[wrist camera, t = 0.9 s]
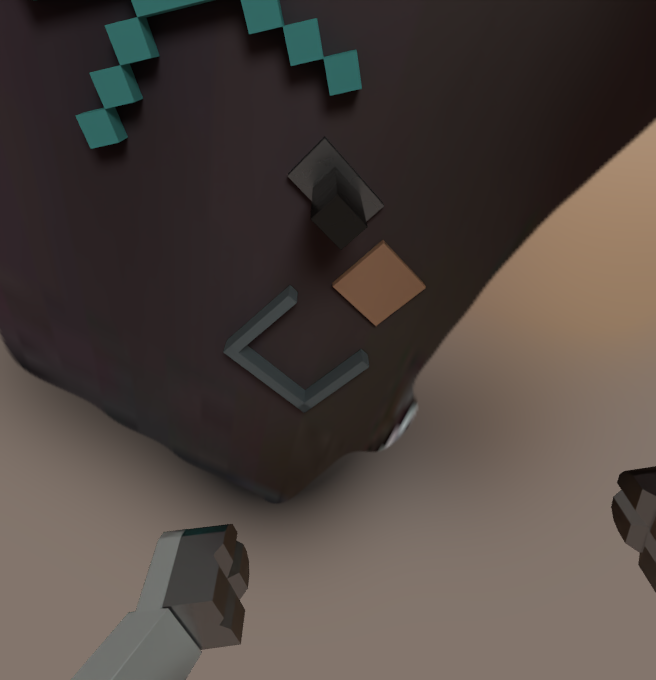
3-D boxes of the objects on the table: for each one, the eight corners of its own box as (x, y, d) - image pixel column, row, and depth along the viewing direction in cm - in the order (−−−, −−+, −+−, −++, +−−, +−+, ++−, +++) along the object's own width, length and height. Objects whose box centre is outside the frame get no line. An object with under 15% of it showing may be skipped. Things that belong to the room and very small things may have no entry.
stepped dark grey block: (324, 136, 34) (324, 161, 28) (383, 202, 37) (395, 239, 31) (288, 173, 36) (280, 205, 30) (346, 234, 39) (351, 276, 32)
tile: (382, 237, 40) (383, 243, 39) (423, 281, 42) (426, 287, 41) (332, 280, 42) (332, 286, 41) (374, 319, 44) (375, 326, 43)
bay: (289, 284, 42) (288, 295, 40) (367, 354, 46) (369, 366, 45) (226, 340, 45) (223, 352, 43) (304, 399, 50) (304, 412, 48)
